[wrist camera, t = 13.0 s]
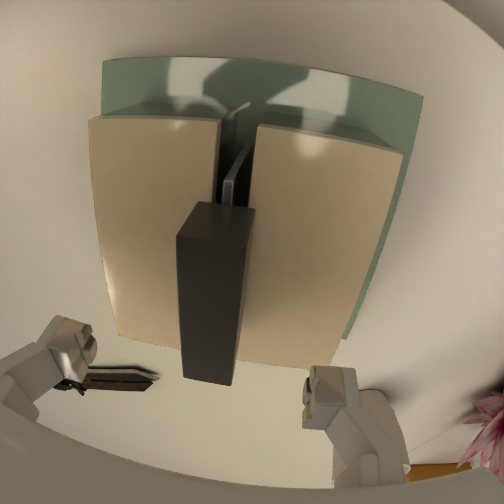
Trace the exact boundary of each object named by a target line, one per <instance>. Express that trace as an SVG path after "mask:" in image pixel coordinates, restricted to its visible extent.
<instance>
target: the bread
mask: <svg viewBox="0 0 504 504" xmlns="http://www.w3.org/2000/svg"><path fill="white" fill-rule="evenodd" d="M457 465H458V463H456V464H438V465H410V468H411V469H410V471H409V472H408V473H407V474H405V483H406V482H413V481H419V480H425V479H430V478H436V477H441V476H445V475H450V474H454V473H458V472H462V471H466V470H470V469H472V467H471V465H470V463H464V464H463V465H461V466H460V467H459V468H456V467H457Z"/></svg>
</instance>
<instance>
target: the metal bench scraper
mask: <svg viewBox="0 0 504 504" xmlns="http://www.w3.org/2000/svg"><path fill="white" fill-rule="evenodd" d="M251 150H252V144H251V143H245V145H244V147H243V148H242V150H241V152H240V154H239V155H238V157H237V159H236V160H235V162H234V164H233V165H232V167H231V169H230V171H229V172H228V174H227V176H226V177H225V179H224V183H223V196H222V204H218V203H210V202H203V201H198V202H197V203H196V205H195V207H194V208H193V210H192V211H191V213H190V214H189V216H188V217H187V219H186V220H185V222H184V224H183V225H182V227H181V228H180V230H179V232H178V233H177V235H176V270H177V294H178V313H179V329H180V343H181V355H182V367H183V377H184V378H188V379H193V380H198V381H204V382H209V383H215V384H220V385H226V386H231V385H232V379H233V374H234V368H235V363H236V358H237V352H238V347H239V340H240V332H241V324H242V316H243V308H244V300H245V292H246V284H247V276H248V268H249V261H250V253H251V245H252V237H253V229H254V221H255V213H256V210H255V209H254V208H248V207H245V203H246V194H247V185H248V176H249V167H250V158H251Z"/></svg>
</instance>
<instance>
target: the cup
mask: <svg viewBox="0 0 504 504" xmlns="http://www.w3.org/2000/svg"><path fill="white" fill-rule="evenodd" d="M359 398H360V405H361V407H365V408H366V409H367V411H368V412H369V413H370V414H371V415H372V416H373V418H374V419H375V420H376V421H377V422H378V424H379V425H380V426H381V427H382V428H383V430H384V431H385V432H386V433H387V434H388V435H389V437H390V438H391V439H392V440H393V441H394V443H395V444H396V445H397V446H398V447H399V448H400V450H401V452H402V459H403V466H404V474H407V473H408V472H409V471H410V469H411V468H410V463H409V458H408V454H407V449H406V445H405V441H404V437H403V433H402V431H401V428H400V426H399V423H398V420H397V418H396V415H395V413H394V410H393V409H392V407H391V405H390V404H389V402H388V400H387V399H386V397H385V396H384V394H383V393H382V392H380V391H378V390H363V391H359ZM346 468H347V466H346V465H345V463H344V461H343V460H342V458H341V457H340V455H339V453H338V452H337V450H336V449H335V447H334V449H333V471H332V484H333V485H334V486H335V477H337V476H338V475H339V474H340V473H341V472H342V471H344V470H345V469H346Z"/></svg>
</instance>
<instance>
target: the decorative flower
mask: <svg viewBox="0 0 504 504" xmlns="http://www.w3.org/2000/svg"><path fill="white" fill-rule="evenodd" d="M491 393H492V395H493V397H486V398H483V399H481V400H478V401H475V402H473V403H472V405H474V406H475V407H476V408H477V409H479V410H480V411H482V412H483V413H480V414H478V415H475V416H473V417H472V418H470V419H469V420H467V421H466V422H464V423H463V424H472V423H483V425H482V426H481V427H483V426H485V427H484V428H483V429H482V430H481V431H480V433H479V434H478V435H477V436H476V438H475V439H474V440H473V441H472V443H471V444H470V446H469V447H468V449H467V450H466V452H465V453H464V455H463V456H462V458H461V459H460V461H459V463H458V465H457V467H456V468H459V467H460V466H461V465H463V464H464V463H465V462H466V461H468V460H469V459H470V458H471V457H472V456H474V455H475V454H476V453H478V452H479V451H480V450H482V449H483V450H482V453H481V465H480V467H483V466H484V465H485V464H486V463H487V462H488V461H489V460H490V459H491V460H490V467H489V470H491V471H492V472H493V473H494V474H495V475H496V476H497V477H498V478H499V479H500V480H501V481H502V482H503V483H504V391H503V393H500V392H491Z"/></svg>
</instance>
